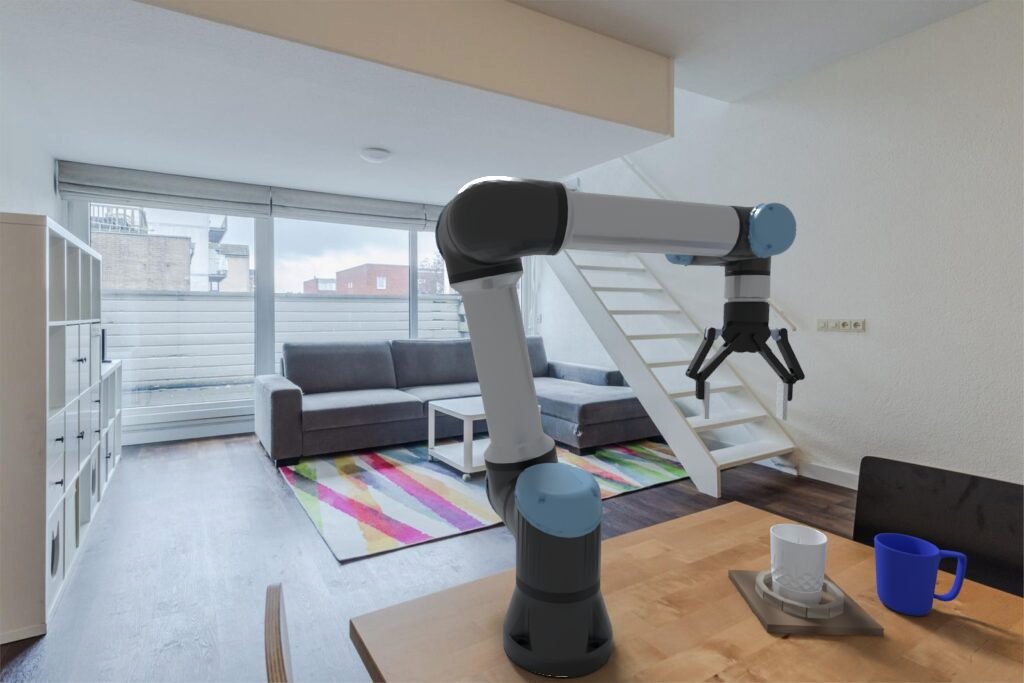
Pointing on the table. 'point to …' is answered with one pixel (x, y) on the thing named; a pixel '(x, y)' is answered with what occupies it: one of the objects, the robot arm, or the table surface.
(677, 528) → the table surface
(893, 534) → the mug
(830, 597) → the brown flat ringed piece
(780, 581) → the white cup
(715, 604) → the table surface
